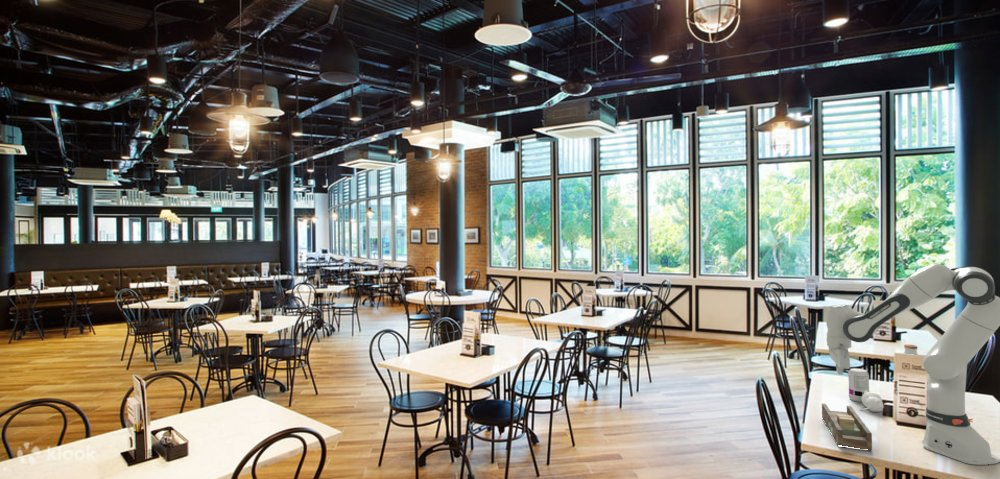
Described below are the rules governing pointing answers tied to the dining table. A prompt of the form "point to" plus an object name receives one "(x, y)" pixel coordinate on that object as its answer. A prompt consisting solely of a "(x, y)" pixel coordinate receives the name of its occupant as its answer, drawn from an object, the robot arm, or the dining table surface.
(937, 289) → the robot arm
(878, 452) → the dining table surface
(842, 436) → the brown long open box
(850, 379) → the supplement can
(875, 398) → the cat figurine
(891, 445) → the dining table surface
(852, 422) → the maple block
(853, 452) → the dining table surface
